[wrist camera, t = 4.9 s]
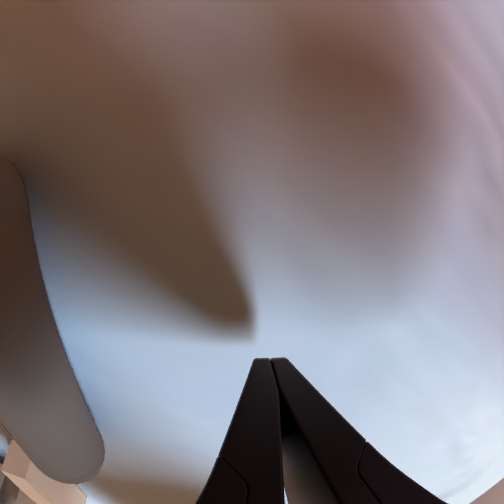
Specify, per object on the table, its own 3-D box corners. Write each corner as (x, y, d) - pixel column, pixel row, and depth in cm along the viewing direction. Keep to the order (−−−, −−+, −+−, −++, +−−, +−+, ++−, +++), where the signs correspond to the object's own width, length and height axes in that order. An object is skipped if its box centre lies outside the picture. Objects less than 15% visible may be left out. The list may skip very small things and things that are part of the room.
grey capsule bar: (119, 440, 11) (108, 503, 8) (55, 429, 11) (37, 485, 8) (45, 128, 6) (-42, 149, 3) (-37, 145, 6) (-115, 173, 3)
